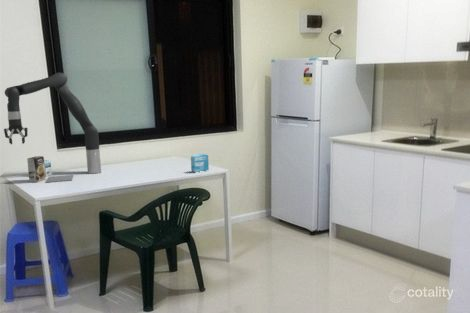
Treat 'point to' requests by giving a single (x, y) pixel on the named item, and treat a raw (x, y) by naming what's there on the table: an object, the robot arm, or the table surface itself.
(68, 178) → the mat
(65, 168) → the table surface
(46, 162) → the light bulb box
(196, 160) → the data package
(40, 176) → the coffee box
